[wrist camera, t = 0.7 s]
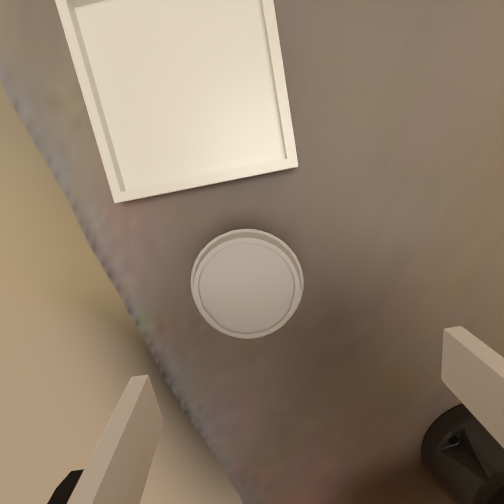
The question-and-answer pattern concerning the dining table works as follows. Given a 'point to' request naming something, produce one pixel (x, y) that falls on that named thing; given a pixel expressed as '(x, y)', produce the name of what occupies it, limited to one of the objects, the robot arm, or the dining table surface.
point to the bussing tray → (181, 91)
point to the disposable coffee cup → (247, 283)
